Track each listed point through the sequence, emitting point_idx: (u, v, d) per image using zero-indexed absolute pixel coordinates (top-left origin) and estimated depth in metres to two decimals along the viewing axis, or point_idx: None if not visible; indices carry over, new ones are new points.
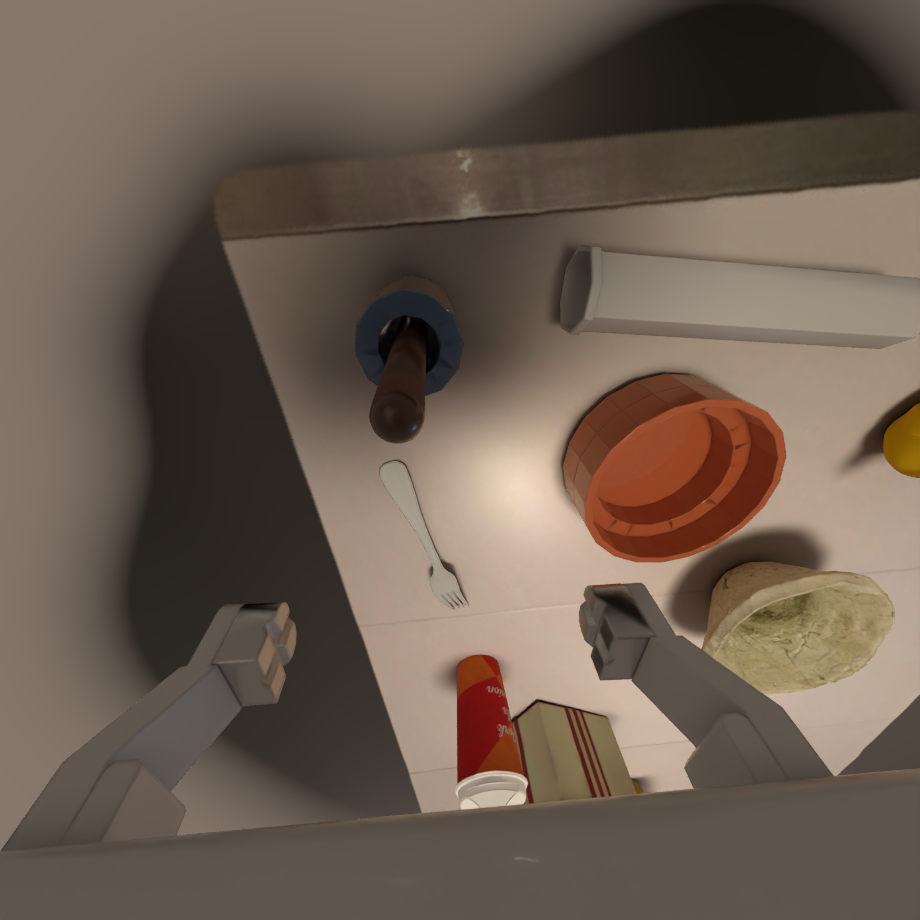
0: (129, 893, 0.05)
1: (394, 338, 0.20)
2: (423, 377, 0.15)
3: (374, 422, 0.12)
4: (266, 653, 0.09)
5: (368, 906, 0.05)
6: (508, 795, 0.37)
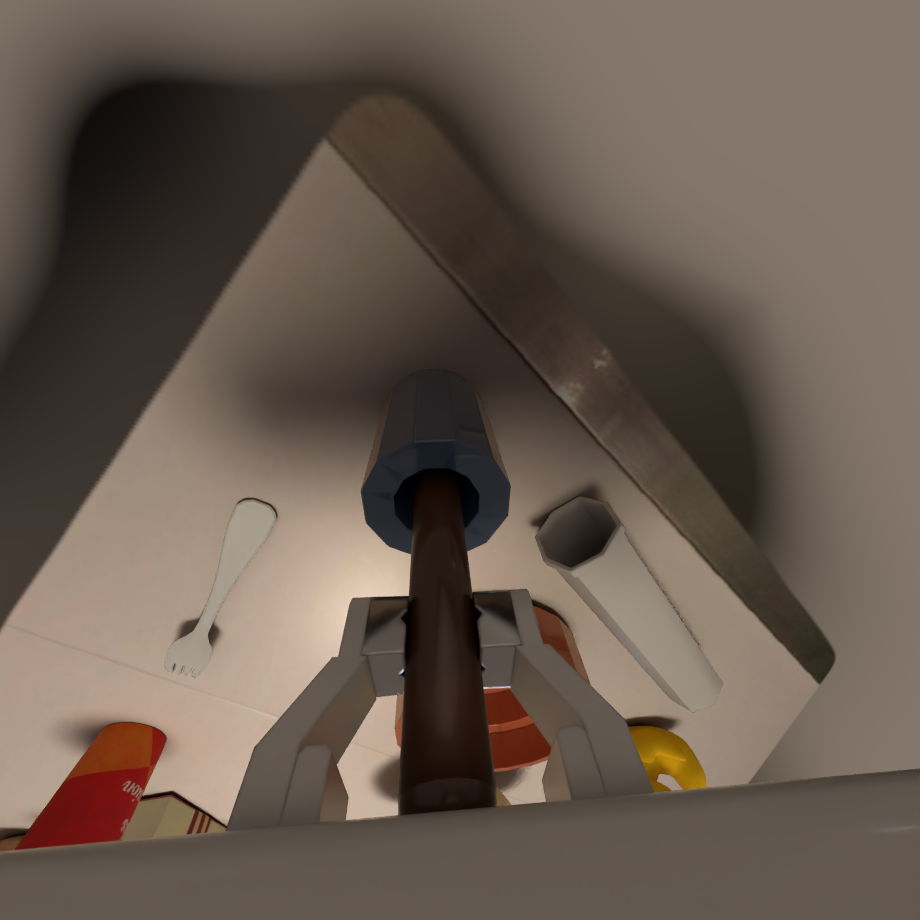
0: (129, 893, 0.05)
1: (433, 483, 0.14)
2: None
3: None
4: (406, 644, 0.09)
5: (368, 906, 0.05)
6: None
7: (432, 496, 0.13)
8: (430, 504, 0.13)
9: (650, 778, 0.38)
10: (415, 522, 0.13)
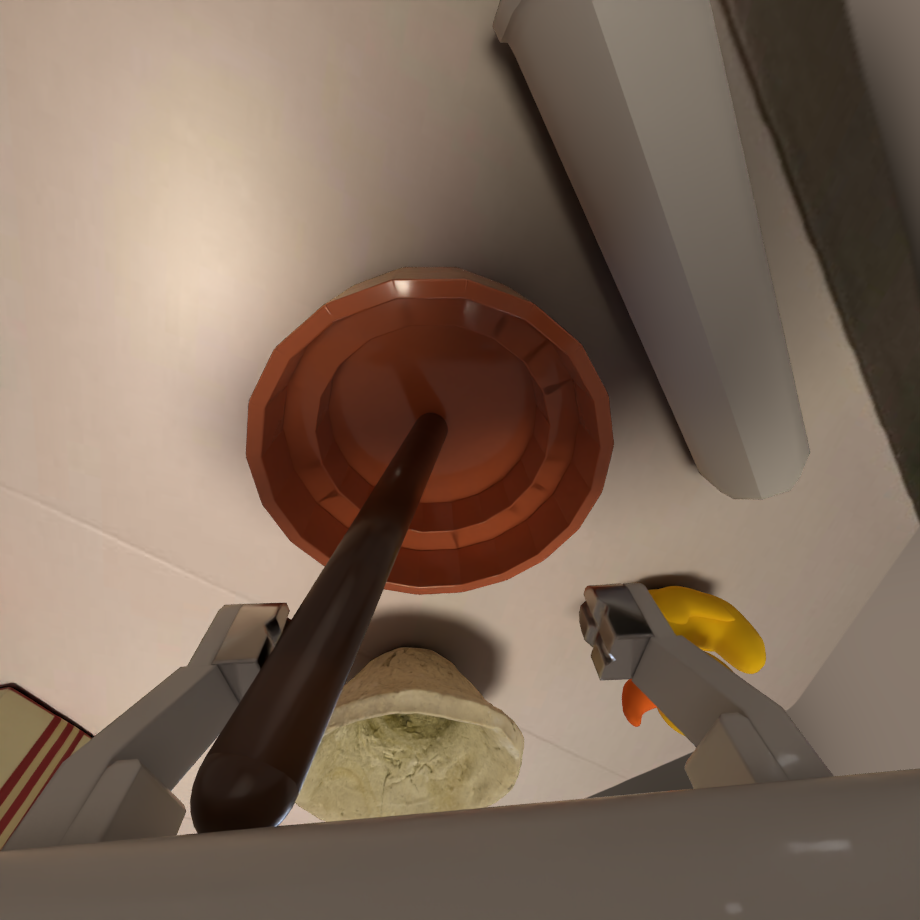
0: (129, 893, 0.05)
1: (390, 478, 0.14)
2: (358, 647, 0.09)
3: (198, 804, 0.06)
4: (266, 653, 0.09)
5: (368, 906, 0.05)
6: None
7: (382, 489, 0.13)
8: (376, 497, 0.13)
9: None
10: None
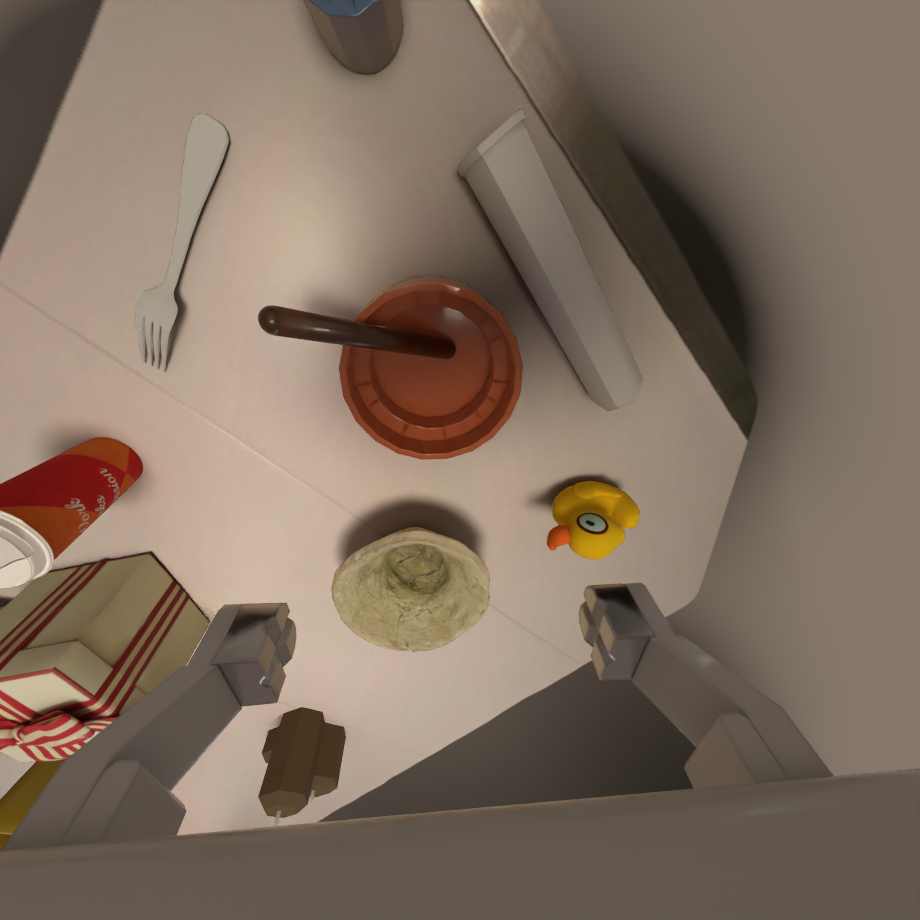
0: (129, 893, 0.05)
1: None
2: (324, 321, 0.25)
3: None
4: (266, 653, 0.09)
5: (368, 906, 0.05)
6: (8, 555, 0.28)
7: None
8: None
9: (588, 509, 0.41)
10: None
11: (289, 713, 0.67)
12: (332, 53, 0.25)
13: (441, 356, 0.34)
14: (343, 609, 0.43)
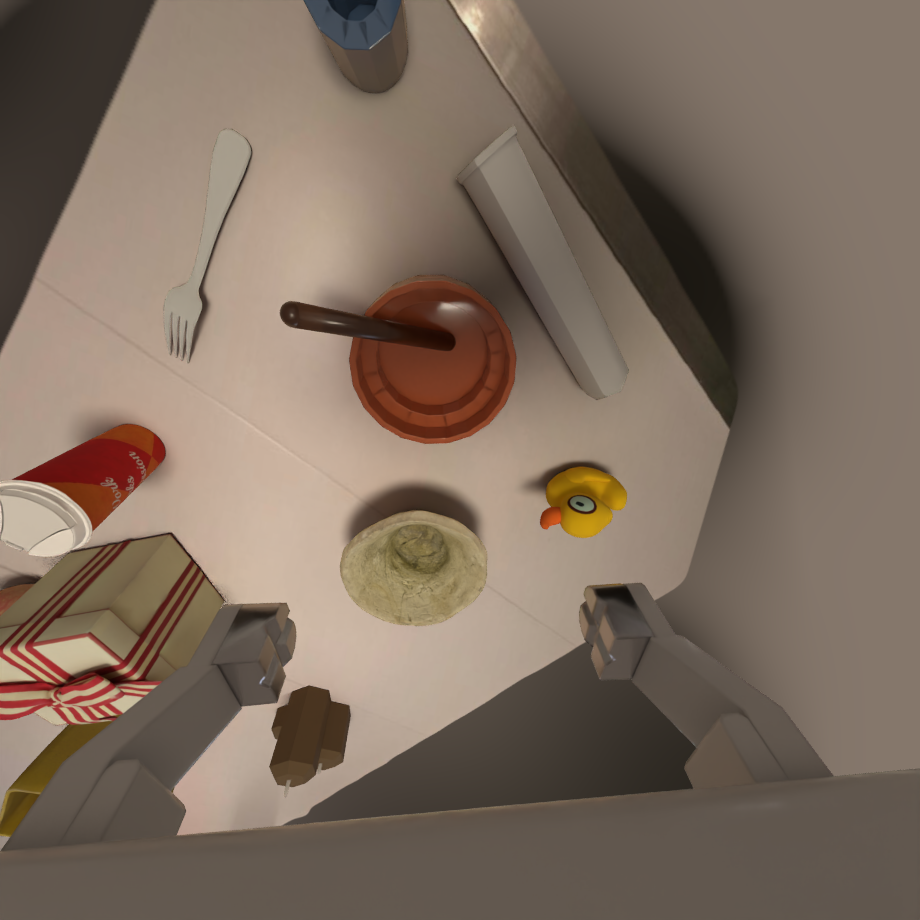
0: (129, 893, 0.05)
1: None
2: (337, 315, 0.28)
3: None
4: (266, 653, 0.09)
5: (368, 906, 0.05)
6: (54, 526, 0.31)
7: None
8: None
9: (578, 492, 0.44)
10: None
11: (297, 691, 0.70)
12: (345, 75, 0.28)
13: (442, 348, 0.37)
14: (350, 585, 0.46)
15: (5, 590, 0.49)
